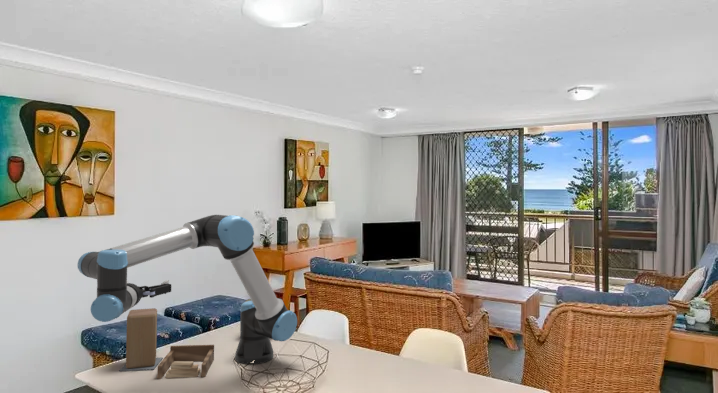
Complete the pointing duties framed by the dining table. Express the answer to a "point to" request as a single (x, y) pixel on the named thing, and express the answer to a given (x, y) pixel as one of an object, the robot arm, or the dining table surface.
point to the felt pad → (142, 367)
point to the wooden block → (141, 338)
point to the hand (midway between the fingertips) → (147, 284)
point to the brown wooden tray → (186, 361)
